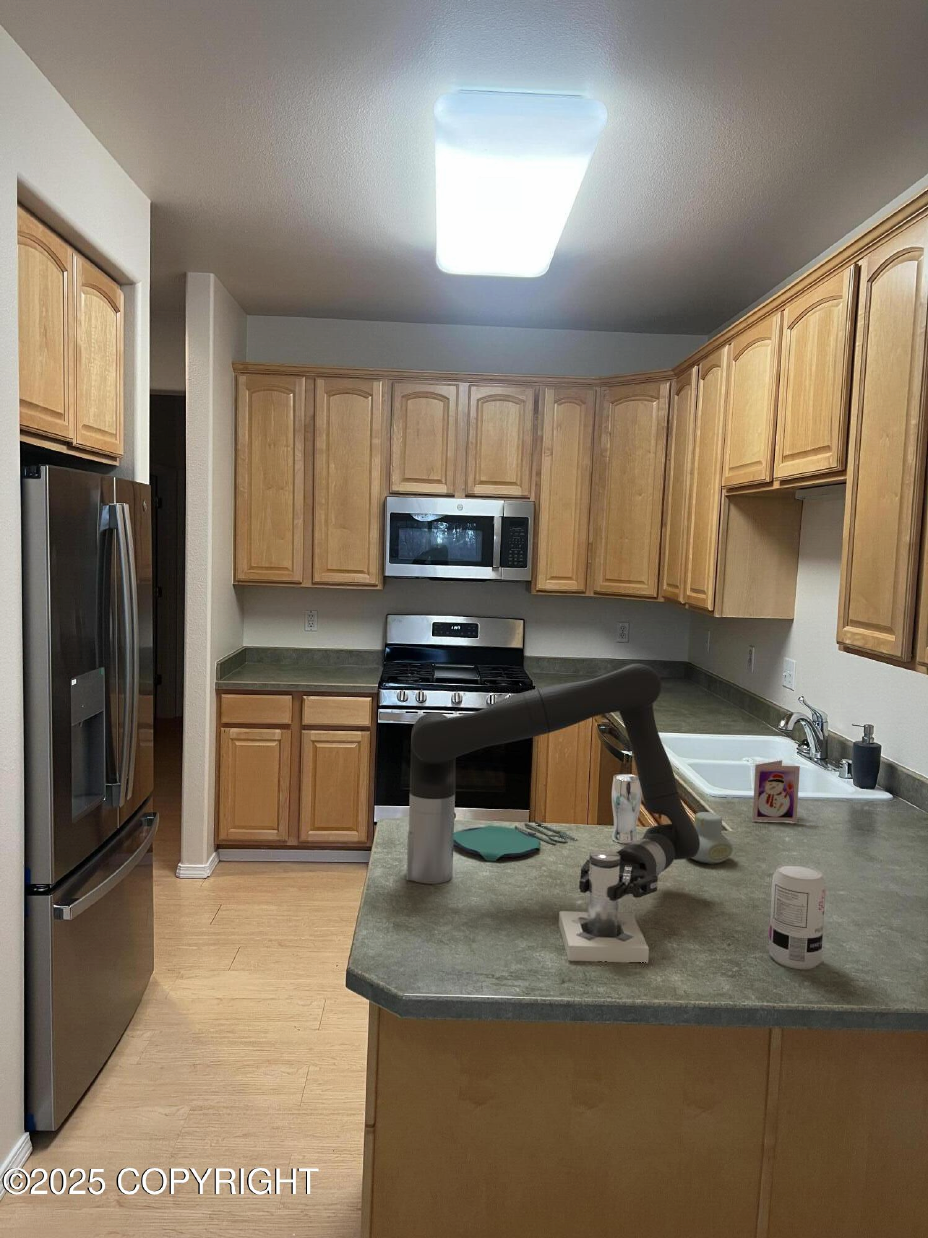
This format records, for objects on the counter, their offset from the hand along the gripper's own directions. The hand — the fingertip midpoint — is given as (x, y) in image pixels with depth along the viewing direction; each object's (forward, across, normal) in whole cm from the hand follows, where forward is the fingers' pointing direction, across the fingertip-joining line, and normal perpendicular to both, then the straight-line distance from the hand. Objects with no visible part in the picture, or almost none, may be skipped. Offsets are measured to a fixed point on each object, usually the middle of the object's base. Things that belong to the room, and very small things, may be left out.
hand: (597, 891), depth 145 cm
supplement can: (-17, +28, +10) cm, 35 cm away
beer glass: (-58, -21, +10) cm, 62 cm away
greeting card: (-99, +2, +10) cm, 99 cm away
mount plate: (-3, 0, +10) cm, 10 cm away
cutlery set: (-38, -40, +11) cm, 56 cm away
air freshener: (-57, -1, +10) cm, 58 cm away
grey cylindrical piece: (-3, 0, +8) cm, 9 cm away
